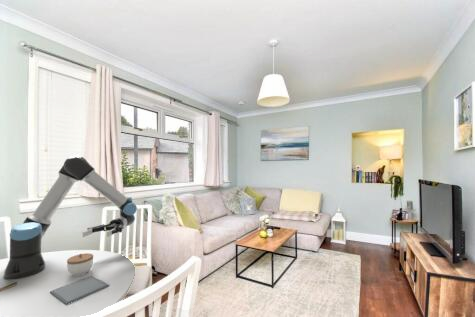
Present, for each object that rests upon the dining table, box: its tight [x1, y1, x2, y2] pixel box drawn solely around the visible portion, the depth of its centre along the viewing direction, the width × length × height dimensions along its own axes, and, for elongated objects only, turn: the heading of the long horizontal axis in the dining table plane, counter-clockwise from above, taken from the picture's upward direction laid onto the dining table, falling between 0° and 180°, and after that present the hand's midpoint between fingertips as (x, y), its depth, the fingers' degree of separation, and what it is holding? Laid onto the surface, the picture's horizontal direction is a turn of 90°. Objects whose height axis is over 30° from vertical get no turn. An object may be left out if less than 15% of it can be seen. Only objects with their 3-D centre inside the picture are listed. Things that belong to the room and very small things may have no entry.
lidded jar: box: [66, 252, 94, 277], centre depth 112 cm, size 11×11×9 cm
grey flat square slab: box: [49, 275, 110, 306], centre depth 96 cm, size 16×16×1 cm
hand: (95, 234), depth 122 cm, fingers open, 13 cm apart
